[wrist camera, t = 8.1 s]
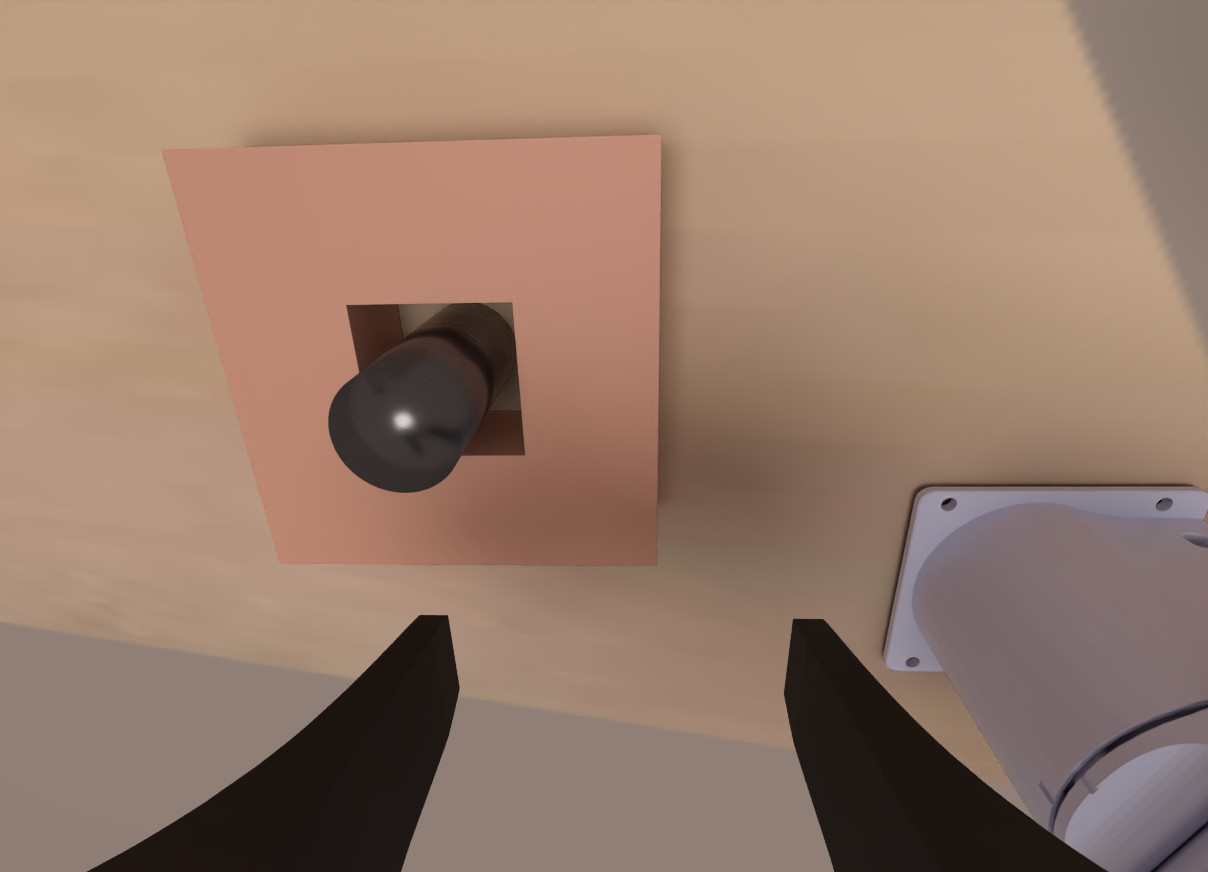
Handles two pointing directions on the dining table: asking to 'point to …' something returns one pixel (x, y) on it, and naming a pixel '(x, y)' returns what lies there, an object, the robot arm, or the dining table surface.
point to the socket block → (441, 275)
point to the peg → (423, 399)
